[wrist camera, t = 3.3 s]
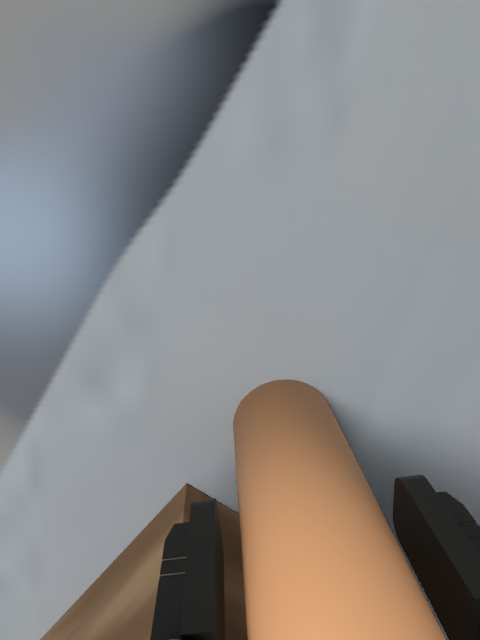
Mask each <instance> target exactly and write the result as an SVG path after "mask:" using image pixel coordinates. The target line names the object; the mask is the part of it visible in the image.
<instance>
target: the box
mask: <svg viewBox="0 0 480 640" xmlns="http://www.w3.org/2000/svg"><path fill="white" fill-rule="evenodd" d="M211 499H212V498H210V497H208V496H207V495H205V494H203V493H202V492H200V491H198V490H197V489H195V488H193V487H192V486H190V485H188V484H186V485H185V486H184V487H183V488H182V489H181V490H180V491H179V492H178V493H177V494H176V496H175V497H174V498H173V499H172V500H171V501H170V502H169V503H168V504H167V505H166V506H165V507H164V508H163V509H162V510H161V512H160V513H159V514H158V515H157V516H156V517H155V518H154V519H153V520H152V521H151V522H150V523H149V524H148V525H147V527H146V528H145V529H144V530H143V531H142V532H141V533H140V534H139V535H138V536H137V537H136V538H135V539H134V540H133V541H132V543H131V544H130V545H129V546H128V547H127V548H126V549H125V550H124V551H123V552H122V553H121V554H120V555H119V556H118V557H117V559H116V560H115V561H114V562H113V563H112V564H111V565H110V566H109V567H108V568H107V569H106V570H105V571H104V572H103V574H102V575H101V576H100V577H99V578H98V579H97V580H96V581H95V582H94V583H93V584H92V585H91V586H90V587H89V588H88V590H87V591H86V592H85V593H84V594H83V595H82V596H81V597H80V598H79V599H78V600H77V601H76V602H75V603H74V605H73V606H72V607H71V608H70V609H69V610H68V611H67V612H66V613H65V614H64V615H63V616H62V617H61V618H60V619H59V621H58V622H57V623H56V624H55V625H54V626H53V627H52V628H51V629H50V630H49V631H48V632H47V633H46V634H45V635H44V637H43V638H42V639H41V640H150V638H151V631H152V624H153V617H154V610H155V604H156V597H157V590H158V583H159V578H160V569H161V562H162V556H163V549H164V542H165V539H166V537H167V535H168V534H169V532H170V530H171V529H172V527H173V525H174V524H176V523H184V522H189V520H190V507H191V502H194V501H203V500H211ZM217 507H218V513H219V520H220V526H221V533H222V541H223V553H224V595H225V640H248V637H247V622H246V607H245V592H244V577H243V562H242V548H241V533H240V518H239V514H237V513H235V512H234V511H232V510H230V509H229V508H227V507H225V506H224V505H222V504H220V503H219V502H217Z"/></svg>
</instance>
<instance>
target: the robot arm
mask: <svg viewBox="0 0 480 640" xmlns="http://www.w3.org/2000/svg"><path fill="white" fill-rule="evenodd" d="M393 522H394V527H395V531H396V534H397V537H398V539H399V541H400V543H401V545H402V547H403V549H404V551H405V553H406V555H407V557H408V559H409V561H410V563H411V565H412V567H413V569H414V571H415V573H416V575H417V577H418V579H419V581H420V583H421V585H422V587H423V589H424V591H425V593H426V595H427V597H428V599H429V601H430V603H431V605H432V606H433V608H434V610H435V612H436V614H437V616H438V618H439V620H440V622H441V624H442V626H443V628H444V630H445V632H446V634H447V636H448V638H449V640H480V526H479V525H477V524H476V521H475V520H474V518H473V517H472V516H471V514H470V513H469V512H468V510H467V509H466V508H465V507H464V505H463V504H461V503H460V502H459V501H457V500H456V499H455V498H453V497H452V496H451V495H449V494H448V493H447V492H439V493H436V492H435V490H434V489H433V488H432V486H431V485H430V483H429V482H428V480H427V479H426V478H425V477H424V476H423V475H417V476H408V477H400V478H396V479H395V484H394V505H393ZM150 640H225V595H224V553H223V541H222V533H221V526H220V520H219V513H218V507H217V501H216V499H211V500H203V501H194V502H191V507H190V520H189V522H184V523H176V524H174V525H173V527H172V529H171V530H170V532H169V534H168V535H167V537H166V539H165V542H164V549H163V556H162V562H161V569H160V578H159V583H158V590H157V597H156V604H155V610H154V617H153V624H152V631H151V638H150Z"/></svg>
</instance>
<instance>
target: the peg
mask: <svg viewBox="0 0 480 640" xmlns="http://www.w3.org/2000/svg"><path fill="white" fill-rule="evenodd" d="M233 429H234V444H235V459H236V474H237V488H238V503H239V518H240V533H241V548H242V562H243V577H244V592H245V607H246V622H247V637H248V640H446V638H445V636H444V634H443V632H442V630H441V628H440V626H439V624H438V622H437V620H436V618H435V616H434V614H433V612H432V610H431V608H430V606H429V604H428V602H427V600H426V598H425V596H424V594H423V592H422V590H421V588H420V586H419V584H418V582H417V580H416V578H415V576H414V574H413V572H412V570H411V568H410V566H409V564H408V562H407V560H406V558H405V556H404V554H403V552H402V550H401V548H400V546H399V544H398V542H397V540H396V538H395V536H394V534H393V532H392V530H391V528H390V526H389V524H388V522H387V520H386V518H385V516H384V514H383V512H382V510H381V508H380V506H379V504H378V502H377V500H376V498H375V496H374V494H373V492H372V490H371V488H370V486H369V484H368V482H367V480H366V478H365V476H364V474H363V472H362V470H361V468H360V466H359V464H358V462H357V460H356V458H355V456H354V454H353V452H352V450H351V448H350V446H349V444H348V442H347V440H346V438H345V436H344V434H343V432H342V430H341V428H340V426H339V424H338V422H337V420H336V418H335V416H334V414H333V412H332V410H331V408H330V406H329V404H328V402H327V401H326V399H325V397H324V396H323V395H322V394H321V393H320V392H319V391H318V390H317V389H315V388H314V387H312V386H310V385H308V384H306V383H303V382H300V381H295V380H277V381H272V382H269V383H266V384H263V385H261V386H259V387H257V388H256V389H254V390H253V391H251V392H250V393H249V394H248V395H247V396H246V397H245V398H244V399H243V400H242V401H241V403H240V404H239V406H238V408H237V410H236V413H235V416H234V422H233Z"/></svg>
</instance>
